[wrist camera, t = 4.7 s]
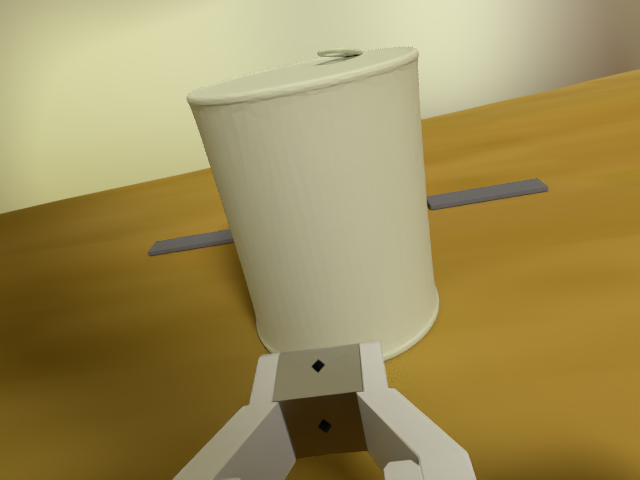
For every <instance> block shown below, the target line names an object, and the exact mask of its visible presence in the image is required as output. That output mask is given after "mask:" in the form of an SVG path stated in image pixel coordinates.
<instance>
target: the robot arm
mask: <svg viewBox="0 0 640 480" xmlns="http://www.w3.org/2000/svg"><path fill="white" fill-rule="evenodd" d="M360 451H368V453H369V454H370V456H371V457H372V458H373V460H374V461H375V462H376V464H377V465H378V466H379V468H380V469H381V470H382V472H383V473H384V474H385V480H476V477H475V473H474V470H473V467H472V464H471V461H470V458H469V455H468V452H466V451H465V450H464V449H463V448H462V447H461V446H460V445H459V444H457V443H456V442H455V441H454V440H453V439H452V438H451V437H449V436H448V435H447V434H446V433H445V432H444V431H443V430H442V429H440V428H439V427H438V426H437V425H436V424H435V423H434V422H432V421H431V420H430V419H429V418H428V417H427V416H426V415H425V414H423V413H422V412H421V411H420V410H419V409H418V408H417V407H415V406H414V405H413V404H412V403H411V402H410V401H409V400H408V399H406V398H405V397H404V396H403V395H402V394H401V393H400V392H398V391H397V390H396V389H395V388H390V389H388V384H387V378H386V372H385V365H384V359H383V353H382V347H381V342H380V340H379V339H378V340H372V341H365V342H360V343H355V344H348V345H340V346H333V347H326V348H317V349H308V350H298V351H289V352H281V353H273V354H264V355H261V356H260V358H259V359H258V363H257V368H256V372H255V377H254V382H253V386H252V391H251V396H250V401H249V405H247V406H242V407H241V408H240V409H239V410H238V411H237V413H236V414H235V415H234V416H233V417H232V418H231V419H230V420H229V421H228V422H227V423H226V424H225V425H224V426H223V427H222V428H221V429H220V430H219V431H218V432H217V433H216V434H215V435H214V437H213V438H212V439H211V440H210V441H209V442H208V443H207V444H206V445H205V446H204V447H203V448H202V449H201V450H200V451H199V452H198V453H197V454H196V455H195V456H194V457H193V458H192V459H191V461H190V462H189V463H188V464H187V465H186V466H185V467H184V468H183V469H182V470H181V471H180V472H179V473H178V474H177V475H176V476H175V477H174V478H173V479H172V480H285V478H286V477H287V475H288V473H289V472H290V470H291V468H292V467H293V465H294V464H295V462H296V459H297V458H304V457H311V456H319V455H326V454H335V453H348V452H360Z"/></svg>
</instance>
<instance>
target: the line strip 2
mask: <svg viewBox="0 0 640 480" xmlns="http://www.w3.org/2000/svg"><path fill="white" fill-rule="evenodd" d="M543 191H548V186H547V185H545V184H544V183H543V182H541V181H540V180H539V179H537V178H536V179H530V180H524V181H518V182H512V183H506V184H500V185H494V186H488V187H482V188H476V189H470V190H464V191H458V192H452V193H446V194H440V195H434V196H428V197H427V203H428V205H429V207H430V209H431V210H433V209H439V208H445V207H452V206H458V205H464V204H470V203H476V202H482V201H488V200H494V199H501V198H507V197H513V196H519V195H525V194H531V193H537V192H543Z"/></svg>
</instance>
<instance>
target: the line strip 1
mask: <svg viewBox="0 0 640 480" xmlns="http://www.w3.org/2000/svg"><path fill="white" fill-rule="evenodd" d="M231 242H234V240H233V237H232V234H231V230H230V229H229V230H223V231H217V232H211V233H205V234H199V235H193V236H187V237H181V238H175V239H169V240H163V241H157V242H155V244H154V245H153V246H152V248H151V249H150V250H149V251H148V254H149V256H151V255H158V254H164V253H170V252H176V251H182V250H188V249H194V248H200V247H207V246H213V245H219V244H225V243H231Z"/></svg>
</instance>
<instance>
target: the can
mask: <svg viewBox="0 0 640 480" xmlns="http://www.w3.org/2000/svg"><path fill="white" fill-rule="evenodd" d="M318 55H319V56H323V57H326V58H320V59H314V60H309V61H304V62H300V63H294V64H290V65H285V66H281V67H276V68H272V69H267V70H262V71H259V72H254V73H250V74H246V75H242V76H239V77H235V78H231V79H227V80H224V81H220V82H217V83H214V84H211V85H208V86H205V87H202V88H199V89H197V90H195V91H193V92H191V93H189V94H188V96H187V101H188V103H189V105H190V107H191V110H192V112H193V115H194V118H195V120H196V123H197V126H198V129H199V132H200V135H201V138H202V141H203V144H204V148H205V151H206V154H207V156H208V160H209V163H210V166H211V170H212V173H213V176H214V179H215V182H216V185H217V188H218V191H219V194H220V198H221V201H222V204H223V207H224V211H225V214H226V217H227V221H228V224H229V227H230V230H231V234H232V237H233V240H234V244H235V247H236V250H237V253H238V257H239V260H240V263H241V266H242V270H243V273H244V276H245V280H246V283H247V287H248V290H249V294H250V297H251V300H252V304H253V308H254V312H255V316H256V327H257V332H258V335H259V338H260V340H261V342H262V343H263V345H264V346H265V347H266V349H267V350H268V351H269V352H270V353H271V354H273V353H281V352H289V351H298V350H308V349H317V348H326V347H333V346H340V345H348V344H355V343H360V342H365V341H372V340H378V339H379V340H380V342H381V347H382V353H383V359H384V361H387V360H389V359H391V358H394V357H396V356H398V355H400V354H401V353H403V352H405V351H406V350H408V349H409V348H411V347H412V346H414V345H415V344H416V343H418V342H419V341H420V340H421V339H422V338H423V337H424V336H425V335H426V333H427V332H428V331H429V330H430V328H431V327H432V325H433V323H434V322H435V320H436V317H437V314H438V310H439V297H438V292H437V289H436V287H435V282H434V274H433V265H432V255H431V244H430V233H429V221H428V210H427V197H426V184H425V171H424V157H423V144H422V131H421V118H420V101H419V82H418V56H419V54H418V51H417V49H415V48H413V47H393V48H384V49H375V50H368V51H361V50H358V49H352V48H333V49H327V50H322V51H319V52H318Z"/></svg>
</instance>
